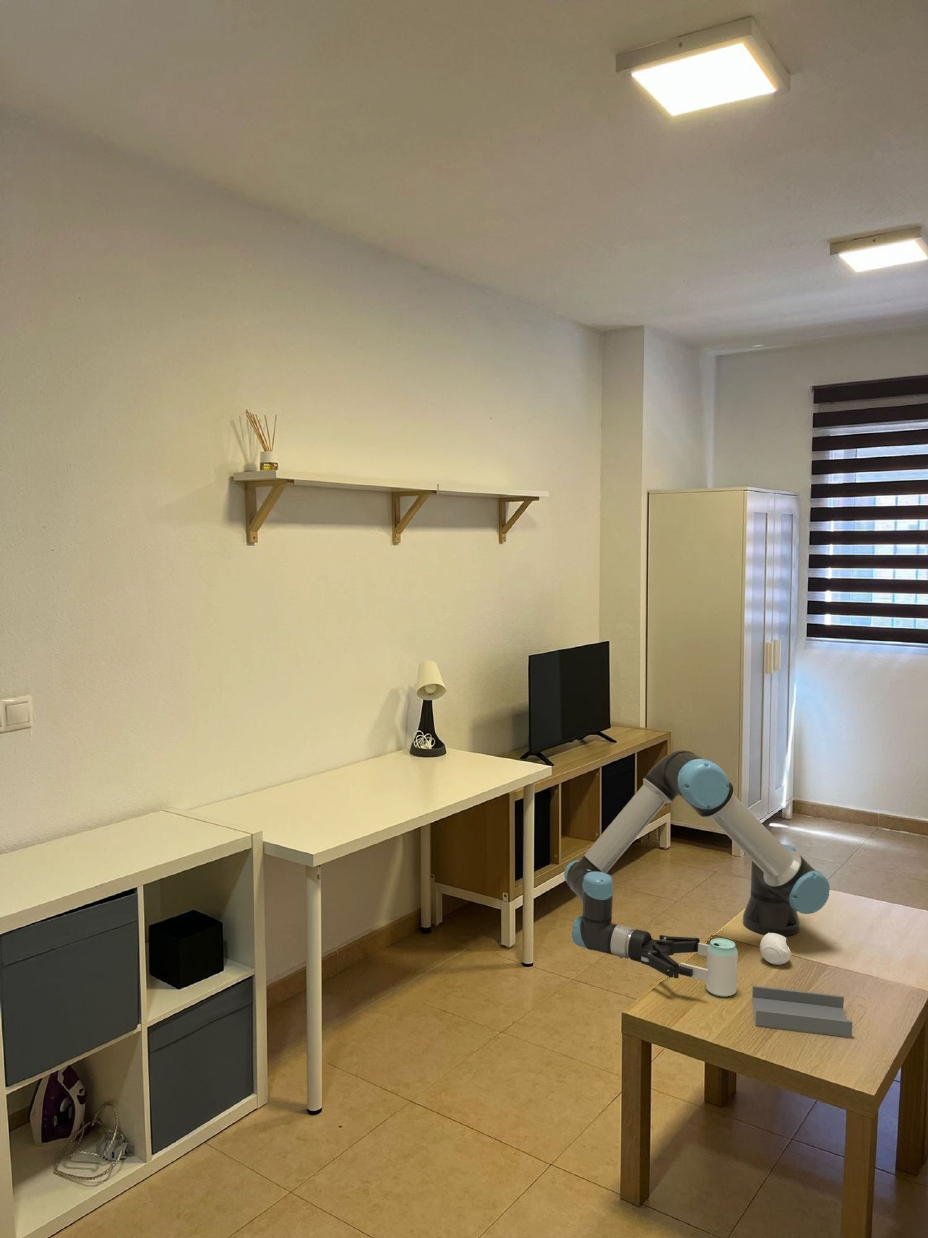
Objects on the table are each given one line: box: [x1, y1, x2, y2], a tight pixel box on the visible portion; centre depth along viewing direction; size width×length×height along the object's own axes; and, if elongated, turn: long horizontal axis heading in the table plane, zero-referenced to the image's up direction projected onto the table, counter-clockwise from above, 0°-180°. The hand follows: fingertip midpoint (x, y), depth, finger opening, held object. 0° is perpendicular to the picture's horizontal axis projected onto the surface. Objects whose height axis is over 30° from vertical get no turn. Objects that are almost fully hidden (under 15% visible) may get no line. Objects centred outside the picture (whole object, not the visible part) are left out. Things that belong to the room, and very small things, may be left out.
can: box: [705, 937, 739, 998], centre depth 227 cm, size 7×7×12 cm
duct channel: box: [751, 985, 853, 1039], centre depth 215 cm, size 13×20×4 cm, turn 77°
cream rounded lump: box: [759, 933, 793, 966], centre depth 244 cm, size 8×8×8 cm
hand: (716, 965), depth 227 cm, fingers open, 13 cm apart
